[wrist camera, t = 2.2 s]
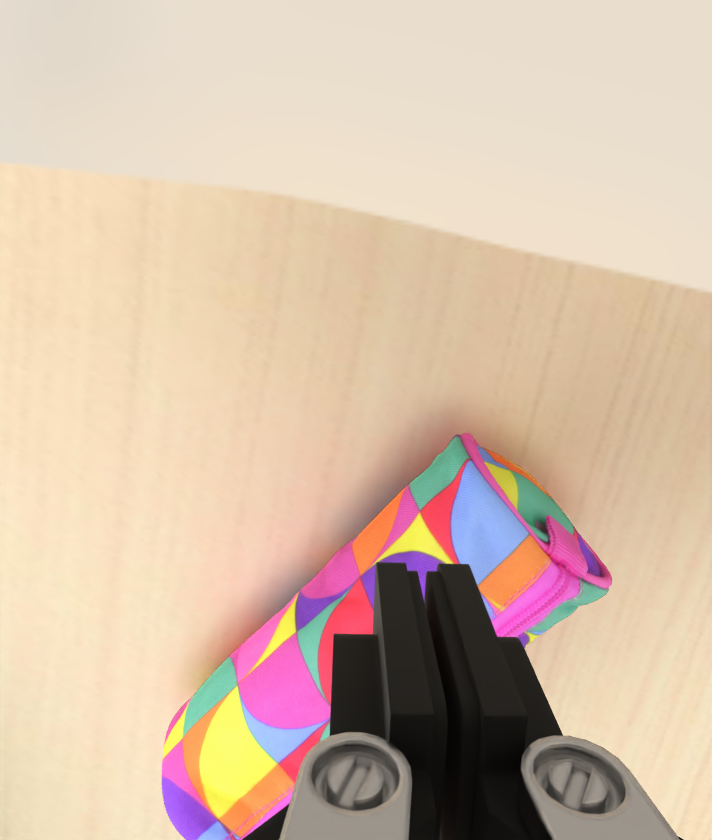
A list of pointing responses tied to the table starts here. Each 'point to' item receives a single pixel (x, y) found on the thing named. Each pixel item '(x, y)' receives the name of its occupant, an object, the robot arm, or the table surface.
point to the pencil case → (367, 631)
